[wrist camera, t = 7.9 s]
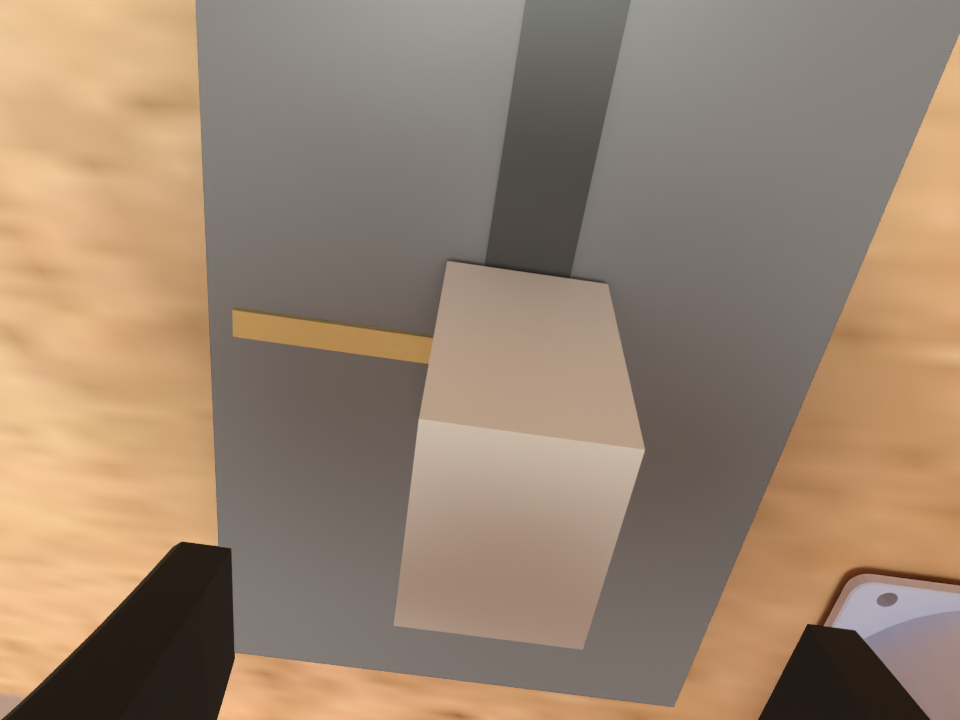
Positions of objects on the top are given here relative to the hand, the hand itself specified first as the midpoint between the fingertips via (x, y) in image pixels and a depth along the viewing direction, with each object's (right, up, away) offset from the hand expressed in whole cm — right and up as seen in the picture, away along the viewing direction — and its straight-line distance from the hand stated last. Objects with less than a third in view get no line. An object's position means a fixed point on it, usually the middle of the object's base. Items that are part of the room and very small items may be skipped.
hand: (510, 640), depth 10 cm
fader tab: (0, +3, +6) cm, 7 cm away
